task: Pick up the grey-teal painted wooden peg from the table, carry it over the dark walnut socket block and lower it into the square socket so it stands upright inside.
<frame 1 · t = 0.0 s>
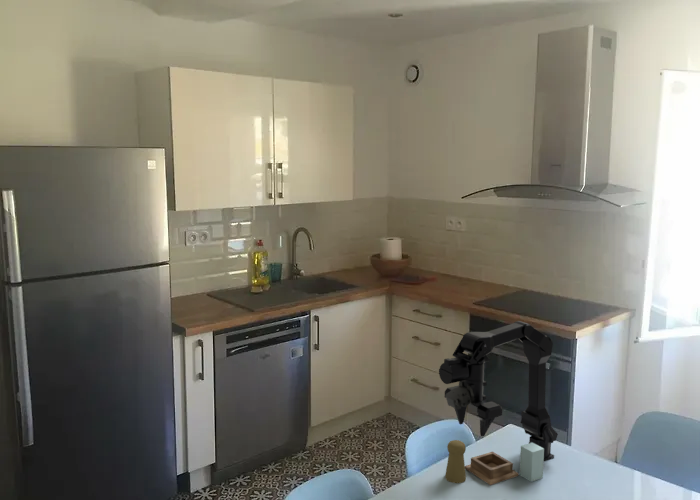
hand: (471, 429, 175), 15 cm above the table, tool pointing down, fingers open, 9 cm apart
painted peg: (531, 476, 178), on the table
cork: (455, 478, 176), on the table
walnut socket: (491, 472, 180), on the table
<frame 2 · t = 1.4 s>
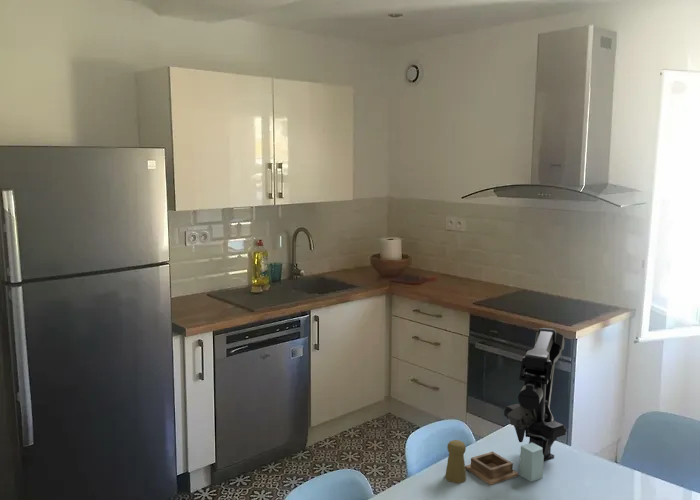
hand: (532, 448, 177), 9 cm above the table, tool pointing down, fingers open, 9 cm apart
nothing on the table moved.
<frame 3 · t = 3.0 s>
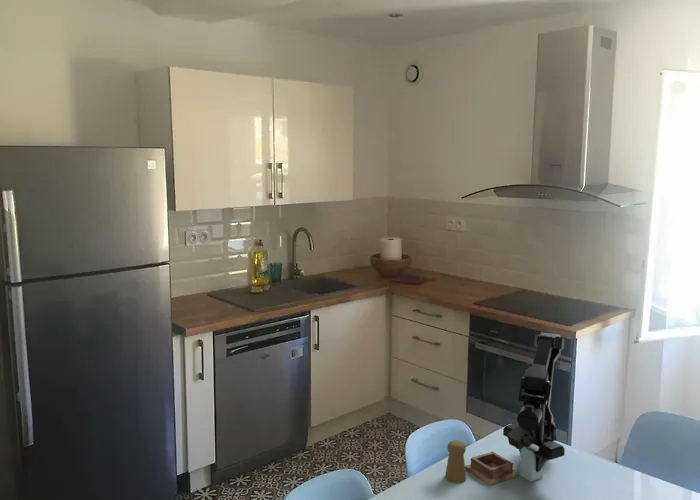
hand: (531, 468, 177), 3 cm above the table, tool pointing down, fingers closed on painted peg, 5 cm apart
painted peg: (531, 476, 178), on the table, touching gripper
everything else where it was.
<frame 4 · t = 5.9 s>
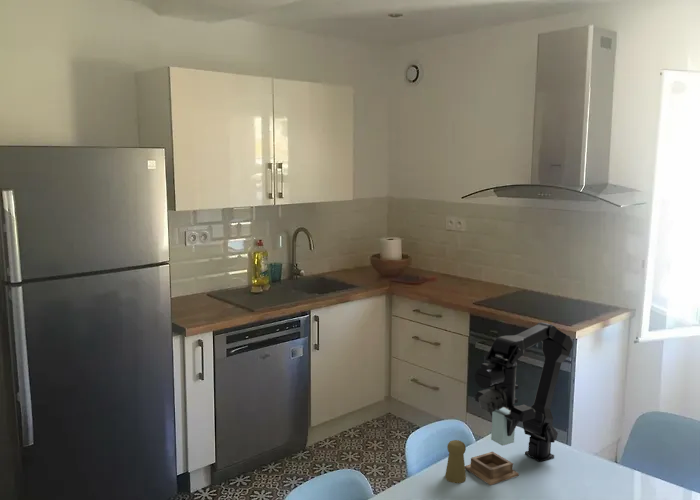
hand: (502, 432, 177), 13 cm above the table, tool pointing down, fingers closed on painted peg, 5 cm apart
painted peg: (502, 440, 178), point 10 cm above the table, touching gripper
everything else where it was.
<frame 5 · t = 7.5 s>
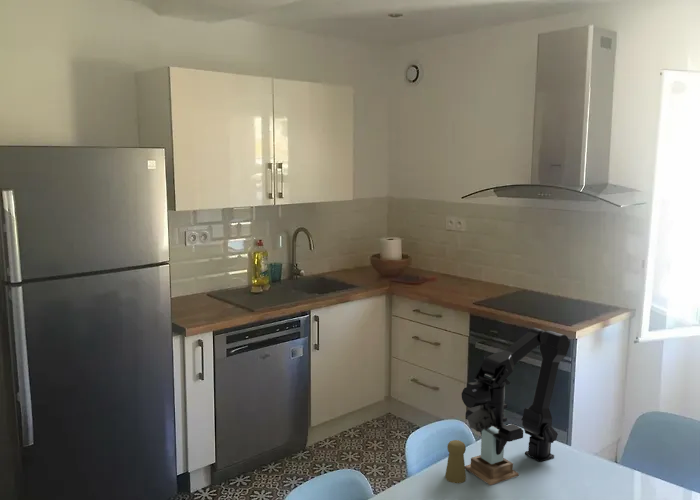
hand: (492, 451, 179), 7 cm above the table, tool pointing down, fingers closed on painted peg, 5 cm apart
painted peg: (492, 459, 179), point 4 cm above the table, touching gripper
everything else where it was.
when the fingers open (5 cm above the table, at t = 8.7 s): painted peg drops 1 cm, resting on walnut socket.
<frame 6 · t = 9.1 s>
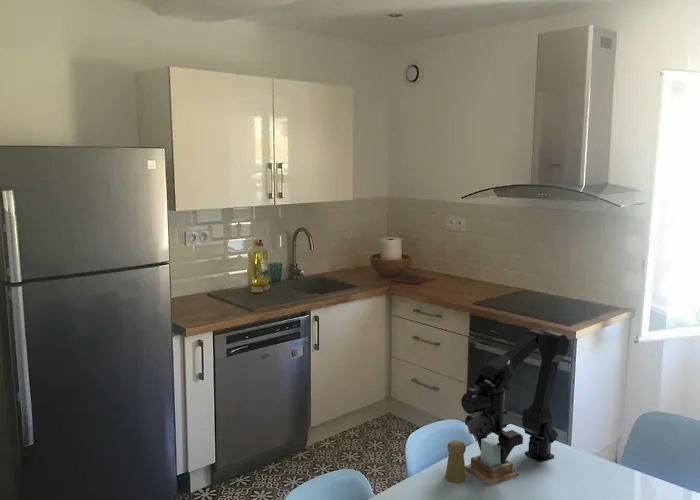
hand: (492, 456, 179), 5 cm above the table, tool pointing down, fingers open, 8 cm apart
painted peg: (491, 469, 180), point 1 cm above the table, touching walnut socket
everything else where it was.
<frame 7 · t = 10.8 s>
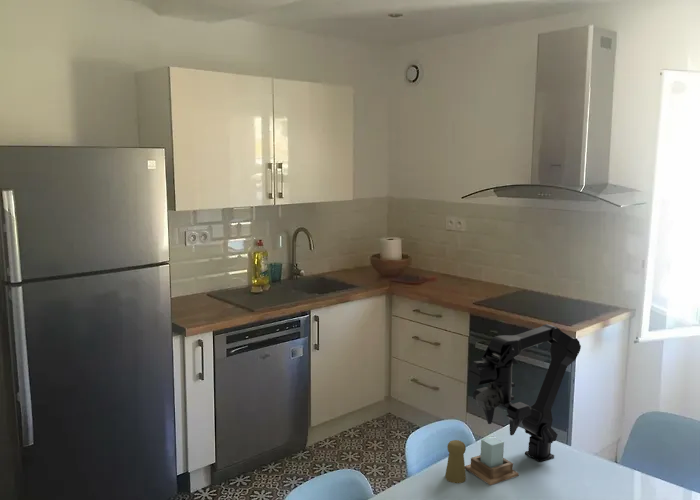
hand: (500, 429, 182), 12 cm above the table, tool pointing down, fingers open, 9 cm apart
nothing on the table moved.
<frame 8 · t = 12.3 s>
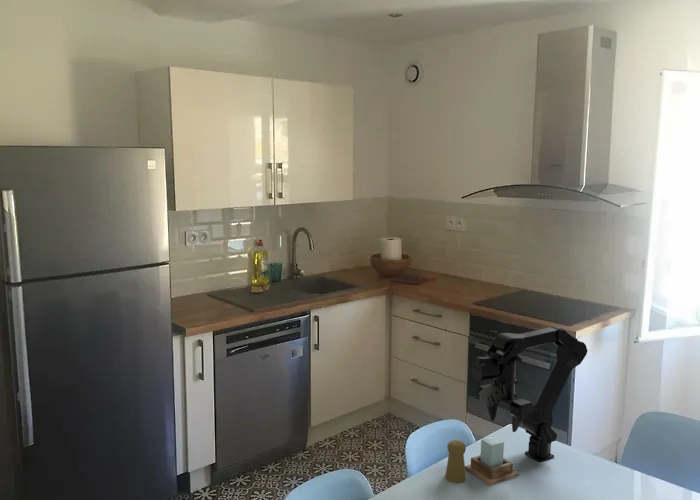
hand: (503, 426, 184), 12 cm above the table, tool pointing down, fingers open, 9 cm apart
nothing on the table moved.
at the end: painted peg 0.0 cm off-centre on the walnut socket, point 0.8 cm above the walnut socket's base; painted peg tilted 0°; the gripper is holding nothing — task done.
